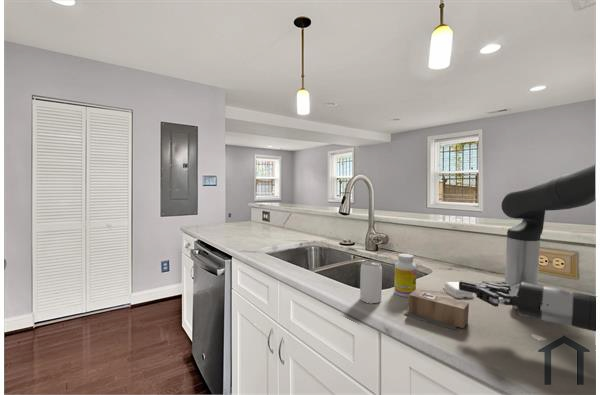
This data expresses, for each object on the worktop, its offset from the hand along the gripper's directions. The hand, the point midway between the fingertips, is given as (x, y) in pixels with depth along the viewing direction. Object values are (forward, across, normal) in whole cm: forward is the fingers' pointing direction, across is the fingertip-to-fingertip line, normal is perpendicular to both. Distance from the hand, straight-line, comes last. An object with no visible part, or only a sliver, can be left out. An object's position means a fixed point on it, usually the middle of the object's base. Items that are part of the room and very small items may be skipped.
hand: (459, 284), depth 80 cm
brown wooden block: (-2, 0, +8) cm, 8 cm away
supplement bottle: (+19, -11, +11) cm, 24 cm away
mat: (+6, -2, +10) cm, 12 cm away
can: (+25, +1, +11) cm, 27 cm away
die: (-12, -21, +11) cm, 27 cm away
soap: (+6, -24, +11) cm, 27 cm away
